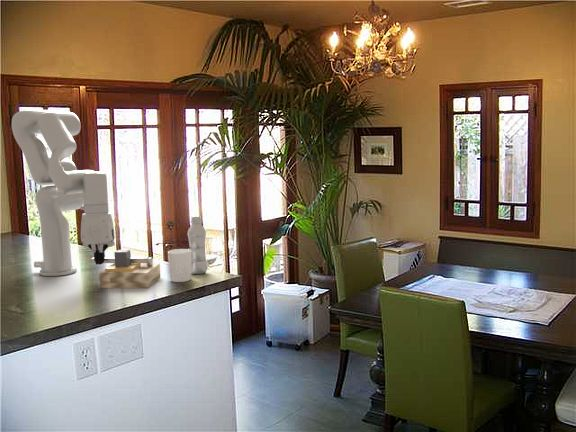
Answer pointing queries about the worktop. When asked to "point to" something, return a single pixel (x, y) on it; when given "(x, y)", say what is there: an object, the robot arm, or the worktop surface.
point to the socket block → (131, 277)
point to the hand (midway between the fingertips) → (99, 263)
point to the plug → (122, 262)
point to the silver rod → (133, 260)
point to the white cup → (180, 265)
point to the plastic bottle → (197, 246)
